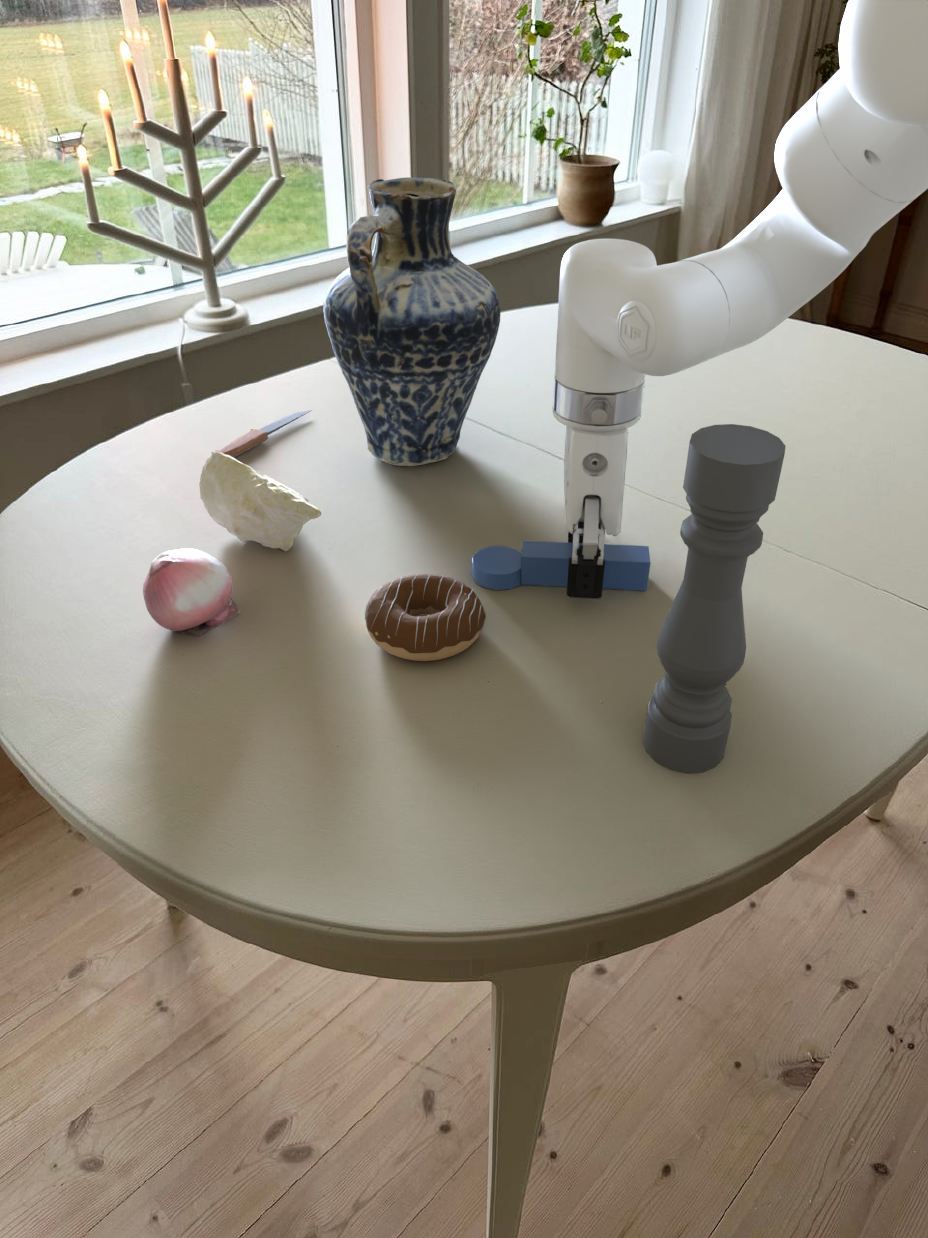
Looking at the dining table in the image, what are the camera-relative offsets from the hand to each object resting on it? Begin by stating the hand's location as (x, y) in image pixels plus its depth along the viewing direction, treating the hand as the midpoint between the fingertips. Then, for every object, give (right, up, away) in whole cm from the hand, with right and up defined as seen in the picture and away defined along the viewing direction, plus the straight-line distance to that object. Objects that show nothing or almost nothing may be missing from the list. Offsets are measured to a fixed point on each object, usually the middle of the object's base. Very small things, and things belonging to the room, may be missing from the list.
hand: (583, 569), depth 88 cm
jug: (-17, +15, +23) cm, 33 cm away
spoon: (-2, -1, +1) cm, 3 cm away
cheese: (-30, +3, +8) cm, 31 cm away
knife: (-37, +18, +27) cm, 49 cm away
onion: (-36, -5, -4) cm, 36 cm away
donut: (-15, -6, -6) cm, 17 cm away
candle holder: (+5, -15, -18) cm, 24 cm away
